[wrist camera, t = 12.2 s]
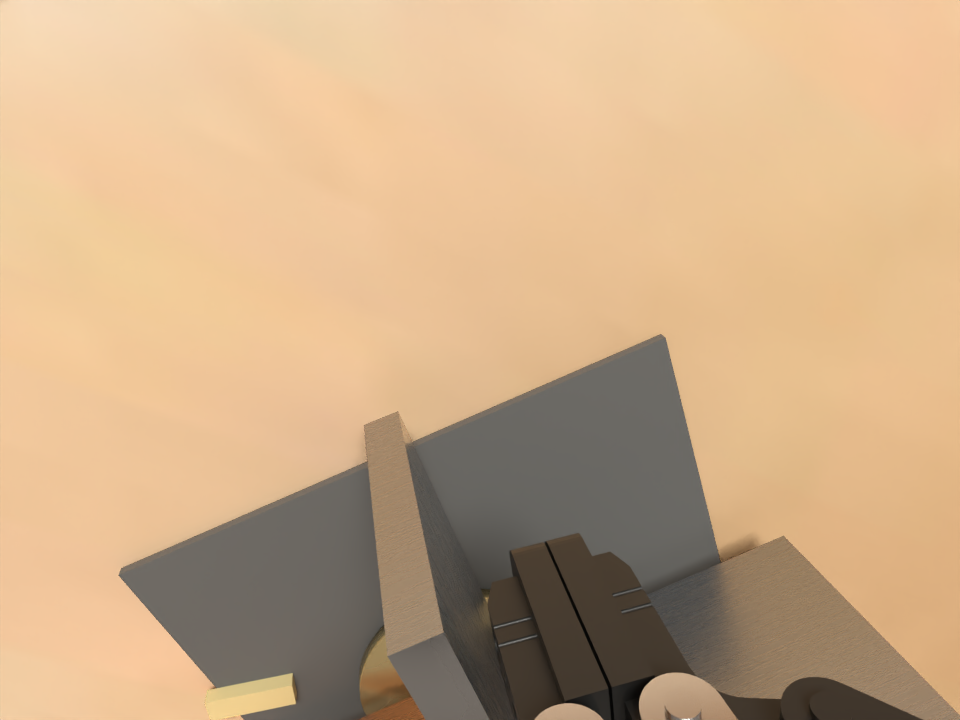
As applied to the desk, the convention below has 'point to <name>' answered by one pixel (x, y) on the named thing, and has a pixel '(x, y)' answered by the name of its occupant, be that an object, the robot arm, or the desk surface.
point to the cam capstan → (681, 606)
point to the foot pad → (472, 514)
